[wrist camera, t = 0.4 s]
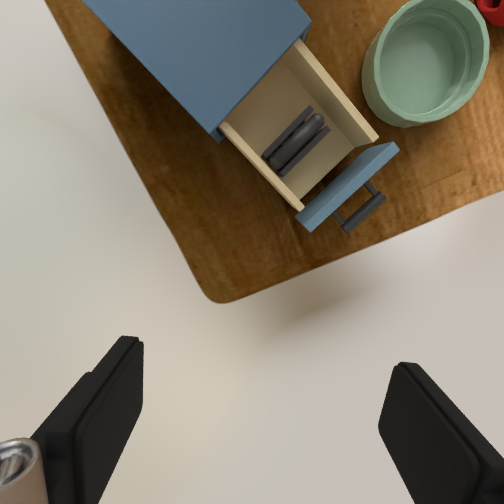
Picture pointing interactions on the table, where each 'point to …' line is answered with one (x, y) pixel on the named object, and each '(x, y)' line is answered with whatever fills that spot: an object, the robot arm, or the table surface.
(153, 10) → the cabinet
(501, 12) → the tracker holder
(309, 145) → the grey roller rack
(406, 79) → the bowl
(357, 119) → the drawer
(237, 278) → the table surface
